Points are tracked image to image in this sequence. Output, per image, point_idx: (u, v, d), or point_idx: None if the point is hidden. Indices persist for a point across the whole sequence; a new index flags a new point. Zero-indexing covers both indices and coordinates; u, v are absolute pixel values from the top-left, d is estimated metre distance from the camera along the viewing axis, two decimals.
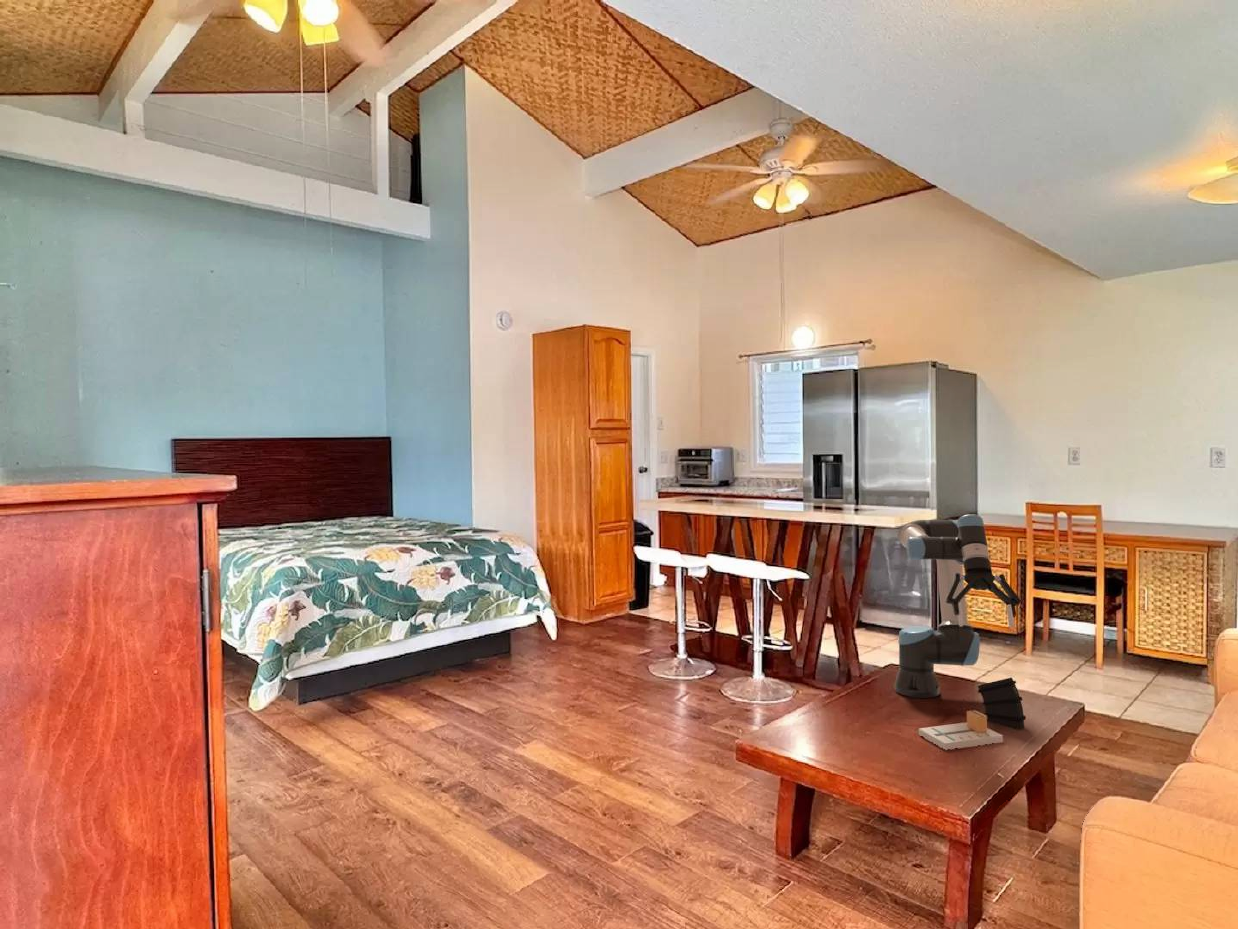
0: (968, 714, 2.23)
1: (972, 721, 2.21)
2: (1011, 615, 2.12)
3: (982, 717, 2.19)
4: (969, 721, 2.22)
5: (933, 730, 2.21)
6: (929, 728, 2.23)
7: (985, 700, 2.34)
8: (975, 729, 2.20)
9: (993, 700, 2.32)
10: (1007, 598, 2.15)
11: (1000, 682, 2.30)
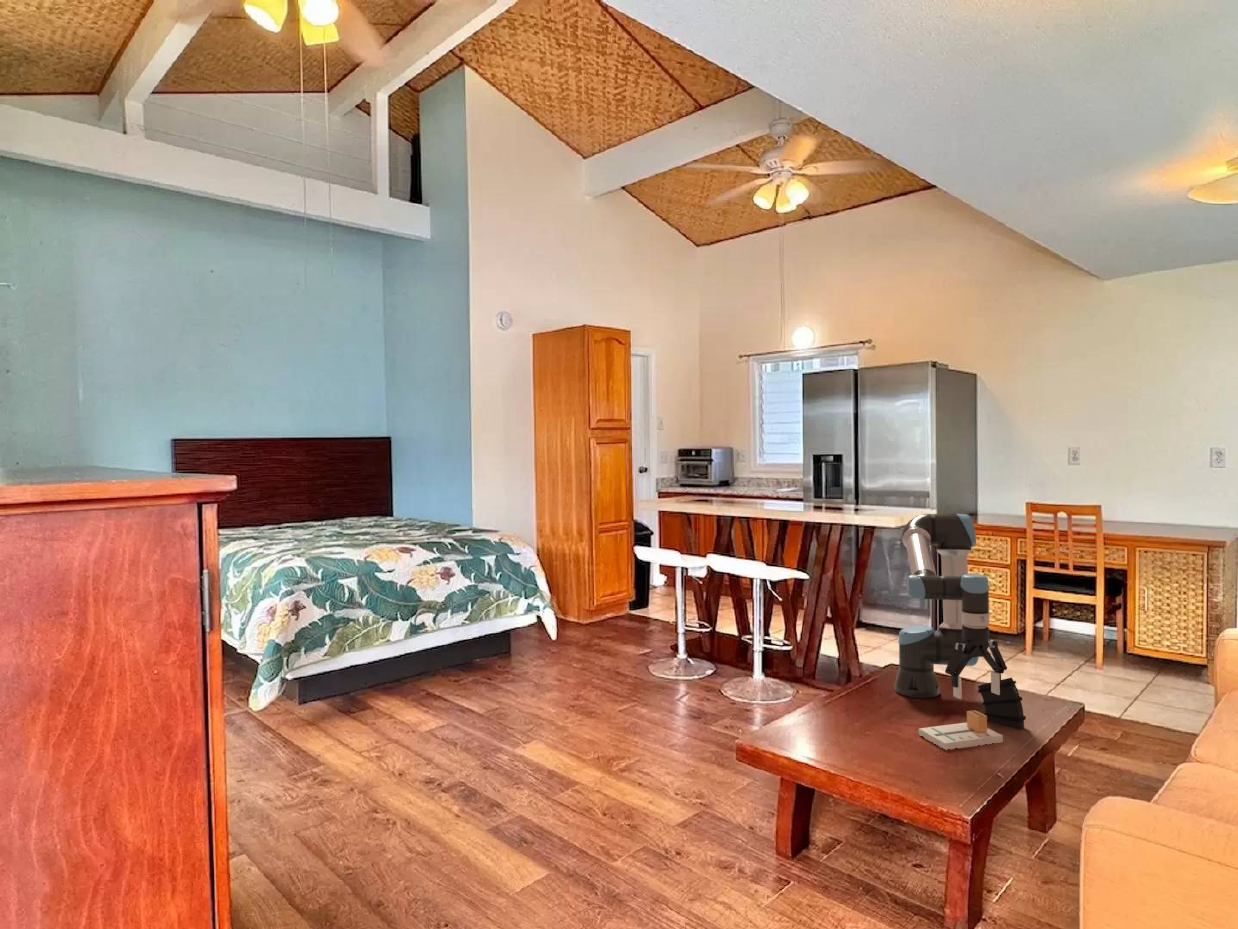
0: (968, 714, 2.23)
1: (972, 721, 2.21)
2: (998, 684, 2.21)
3: (982, 717, 2.19)
4: (969, 721, 2.22)
5: (933, 730, 2.21)
6: (929, 728, 2.23)
7: (985, 700, 2.34)
8: (975, 729, 2.20)
9: (993, 700, 2.32)
10: (997, 667, 2.21)
11: None
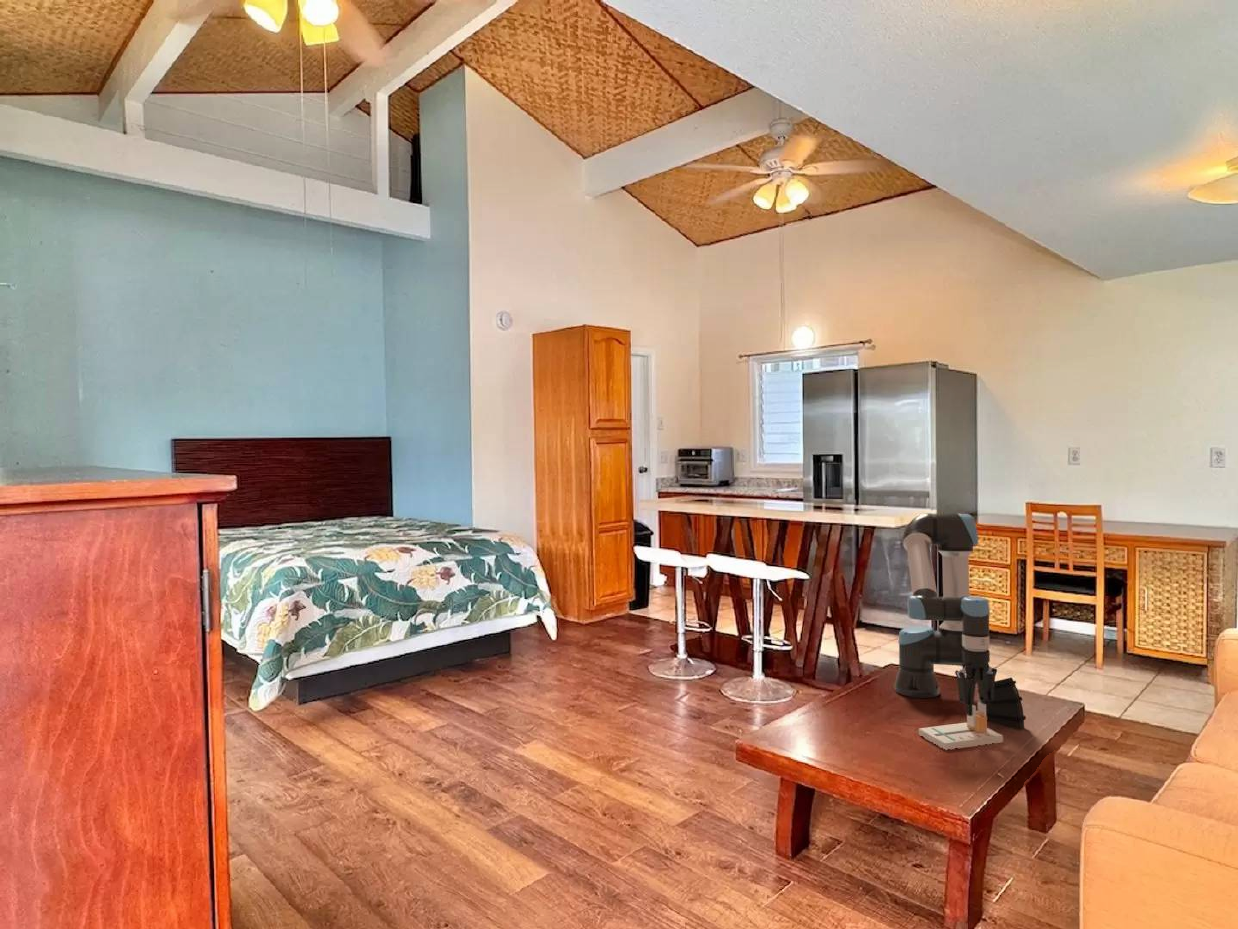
0: None
1: None
2: None
3: (982, 717, 2.19)
4: None
5: (933, 730, 2.21)
6: (929, 728, 2.23)
7: None
8: (975, 729, 2.20)
9: (993, 700, 2.32)
10: (986, 696, 2.21)
11: (1000, 682, 2.30)
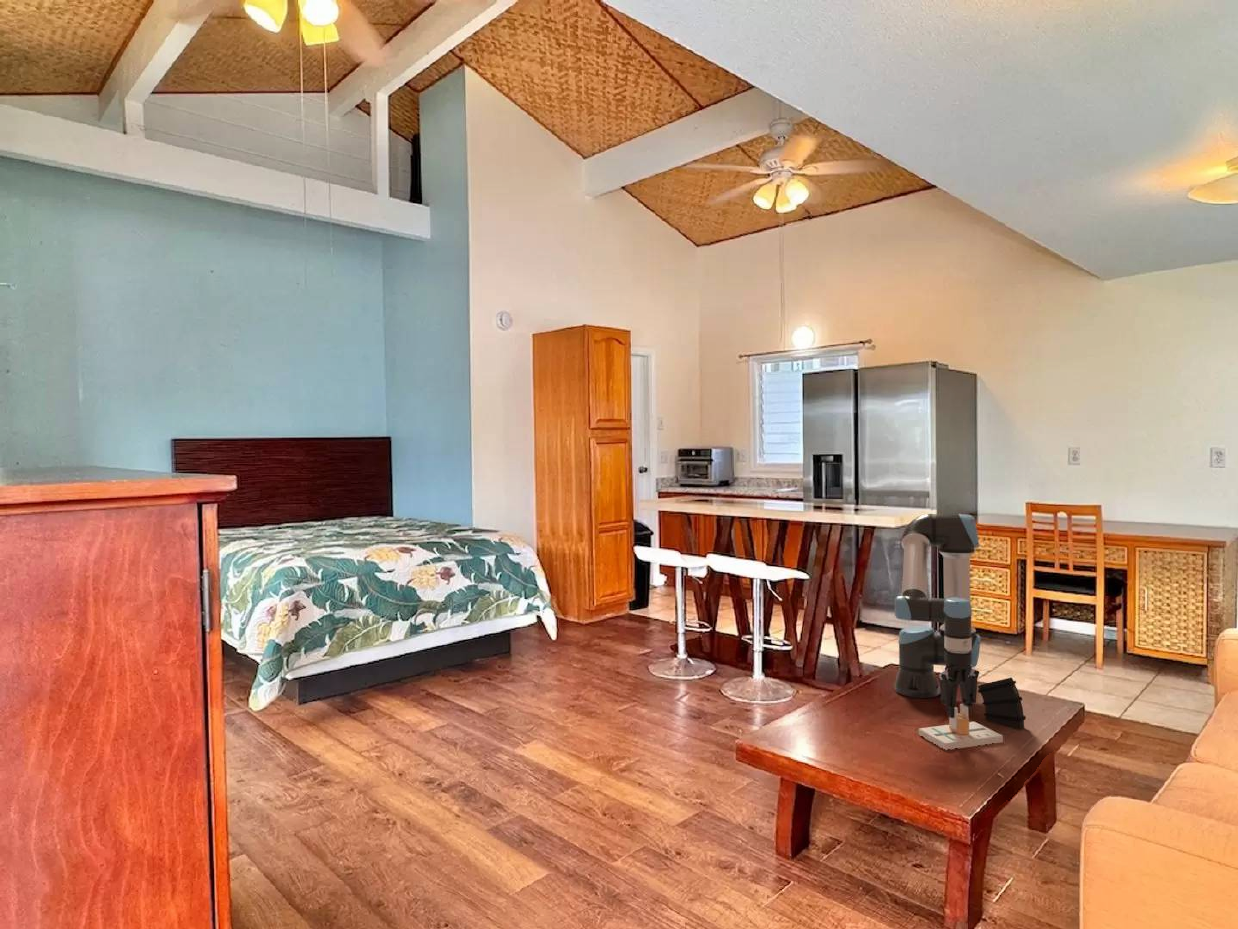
0: None
1: None
2: None
3: (964, 719, 2.17)
4: None
5: (933, 730, 2.21)
6: (929, 728, 2.23)
7: (985, 700, 2.34)
8: (957, 731, 2.18)
9: (993, 700, 2.32)
10: (968, 698, 2.19)
11: (1000, 682, 2.30)
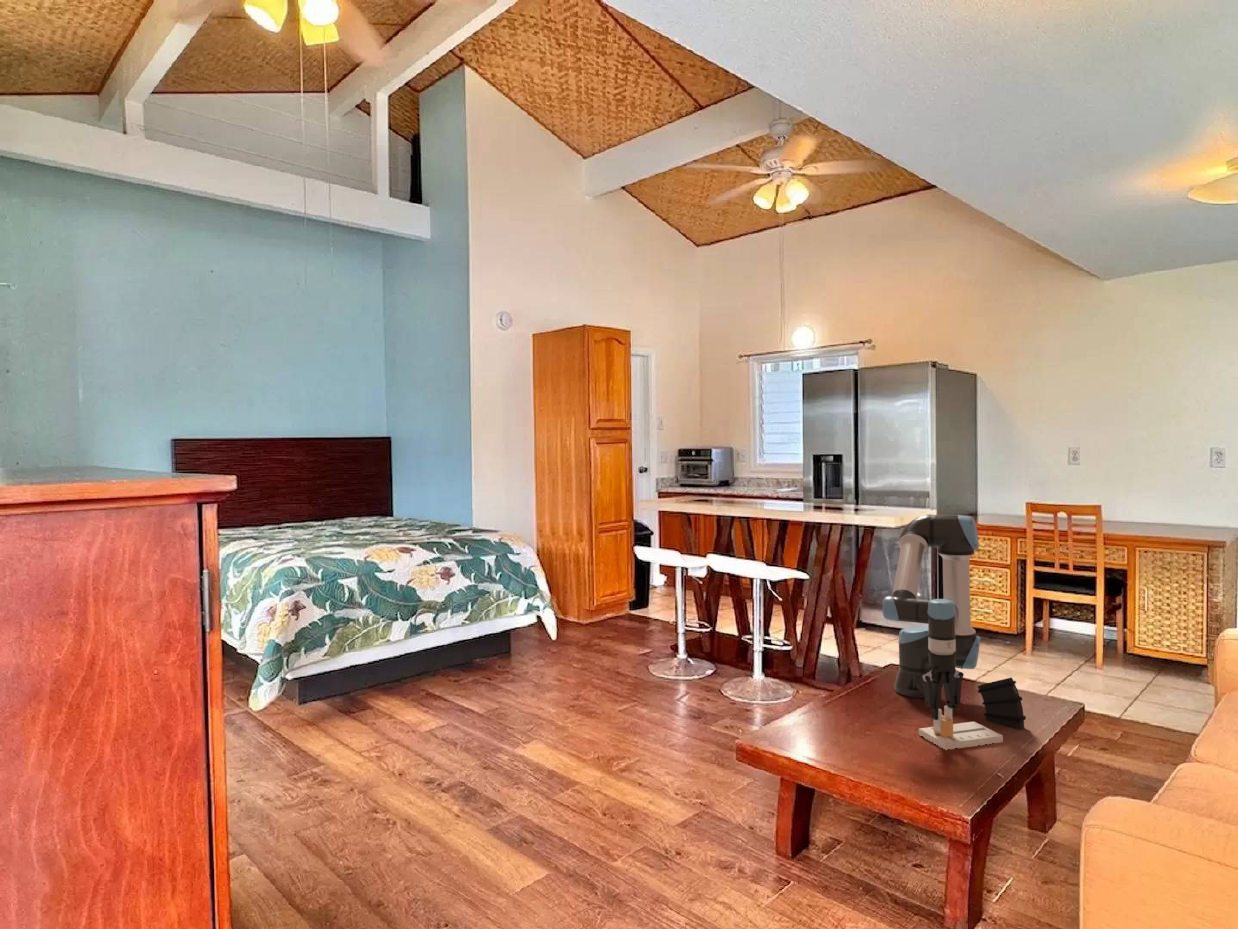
0: None
1: None
2: None
3: (948, 721, 2.16)
4: None
5: (933, 730, 2.21)
6: (929, 728, 2.23)
7: (985, 700, 2.34)
8: (941, 733, 2.17)
9: (993, 700, 2.32)
10: (952, 700, 2.18)
11: (1000, 682, 2.30)
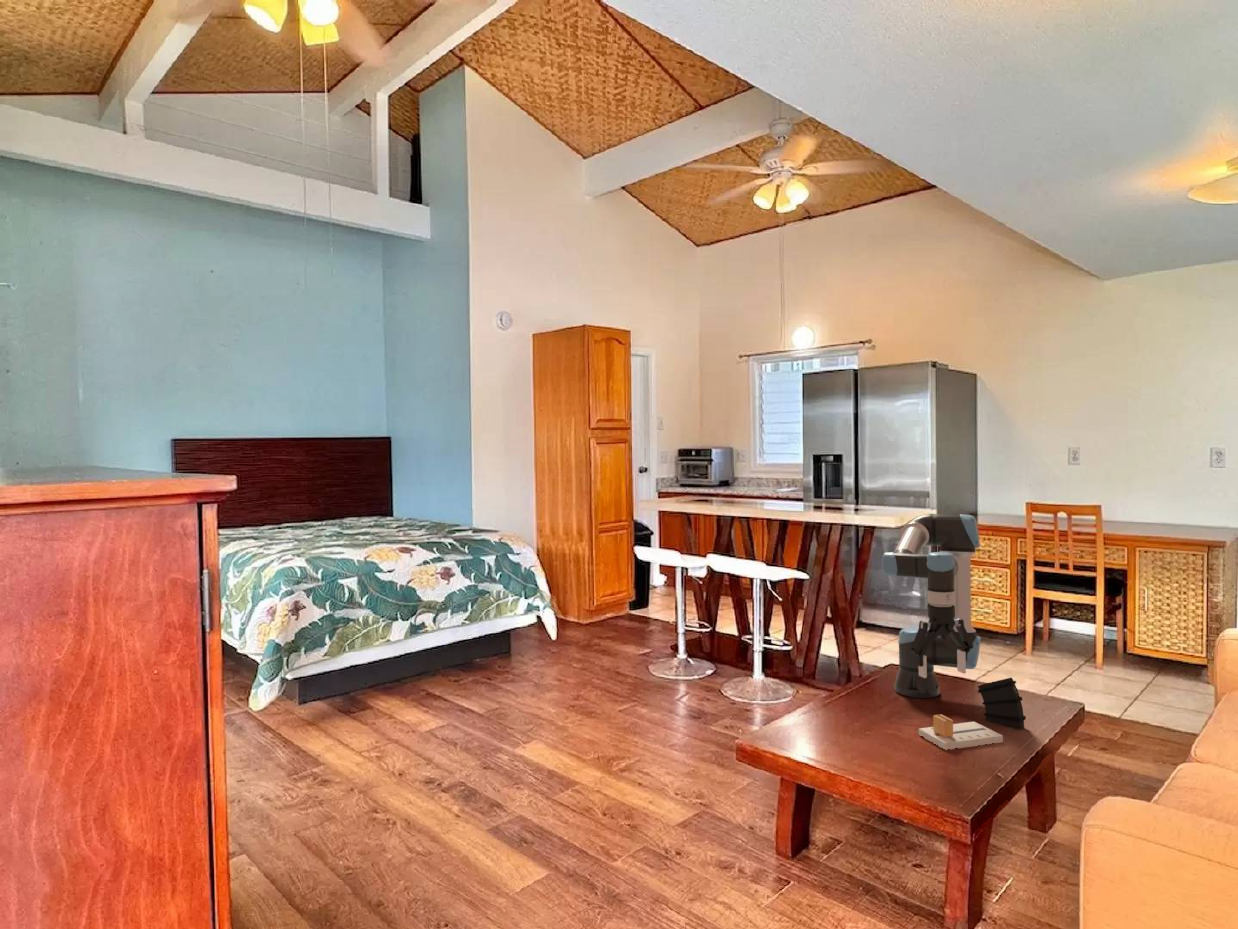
0: (934, 718, 2.20)
1: (938, 726, 2.18)
2: (964, 663, 2.19)
3: (948, 721, 2.16)
4: (935, 725, 2.19)
5: None
6: (929, 728, 2.23)
7: (985, 700, 2.34)
8: (941, 733, 2.17)
9: (993, 700, 2.32)
10: (963, 645, 2.19)
11: (1000, 682, 2.30)
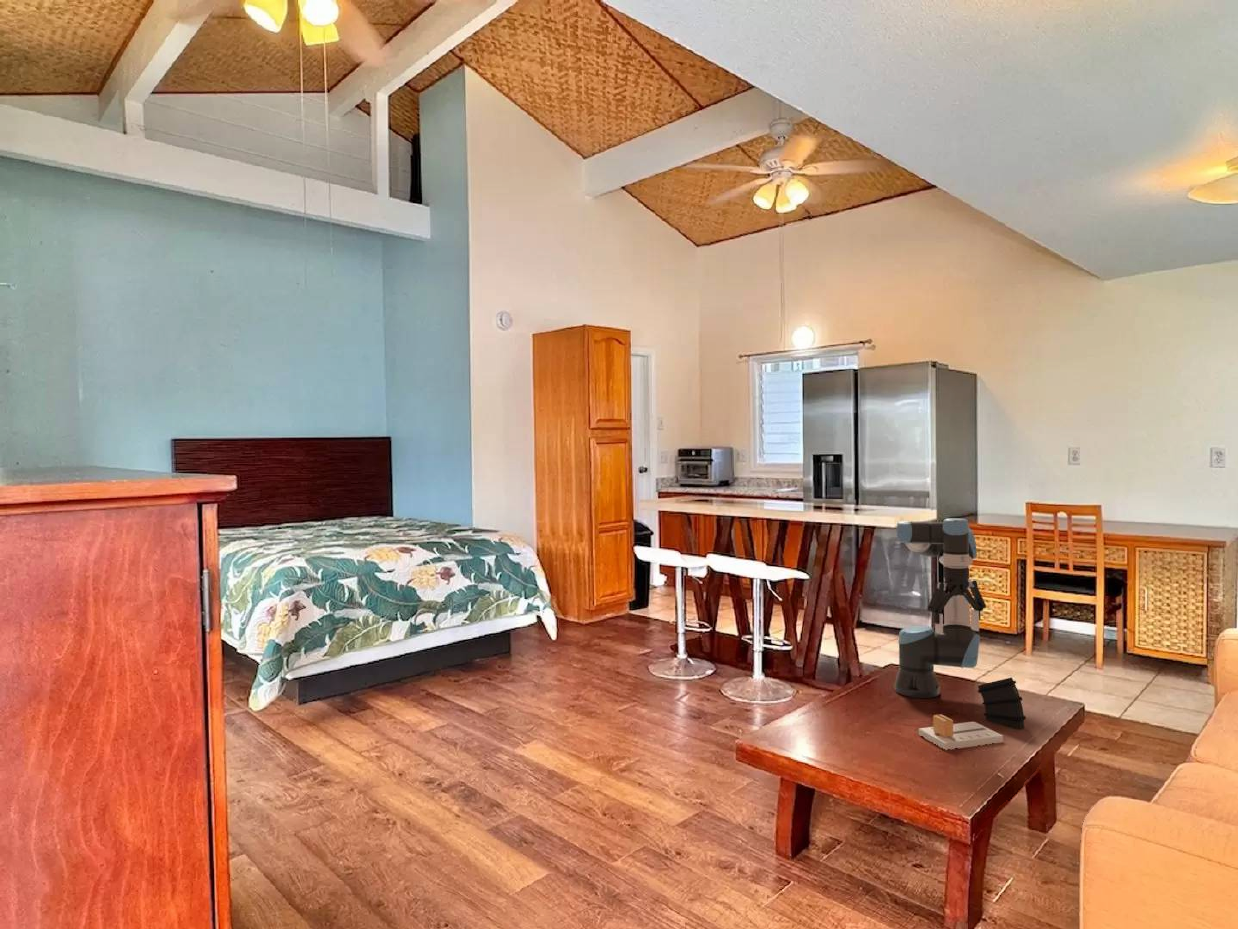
0: (934, 718, 2.20)
1: (938, 726, 2.18)
2: (978, 621, 2.35)
3: (948, 721, 2.16)
4: (935, 725, 2.19)
5: None
6: (929, 728, 2.23)
7: (985, 700, 2.34)
8: (941, 733, 2.17)
9: (993, 700, 2.32)
10: (976, 605, 2.35)
11: (1000, 682, 2.30)
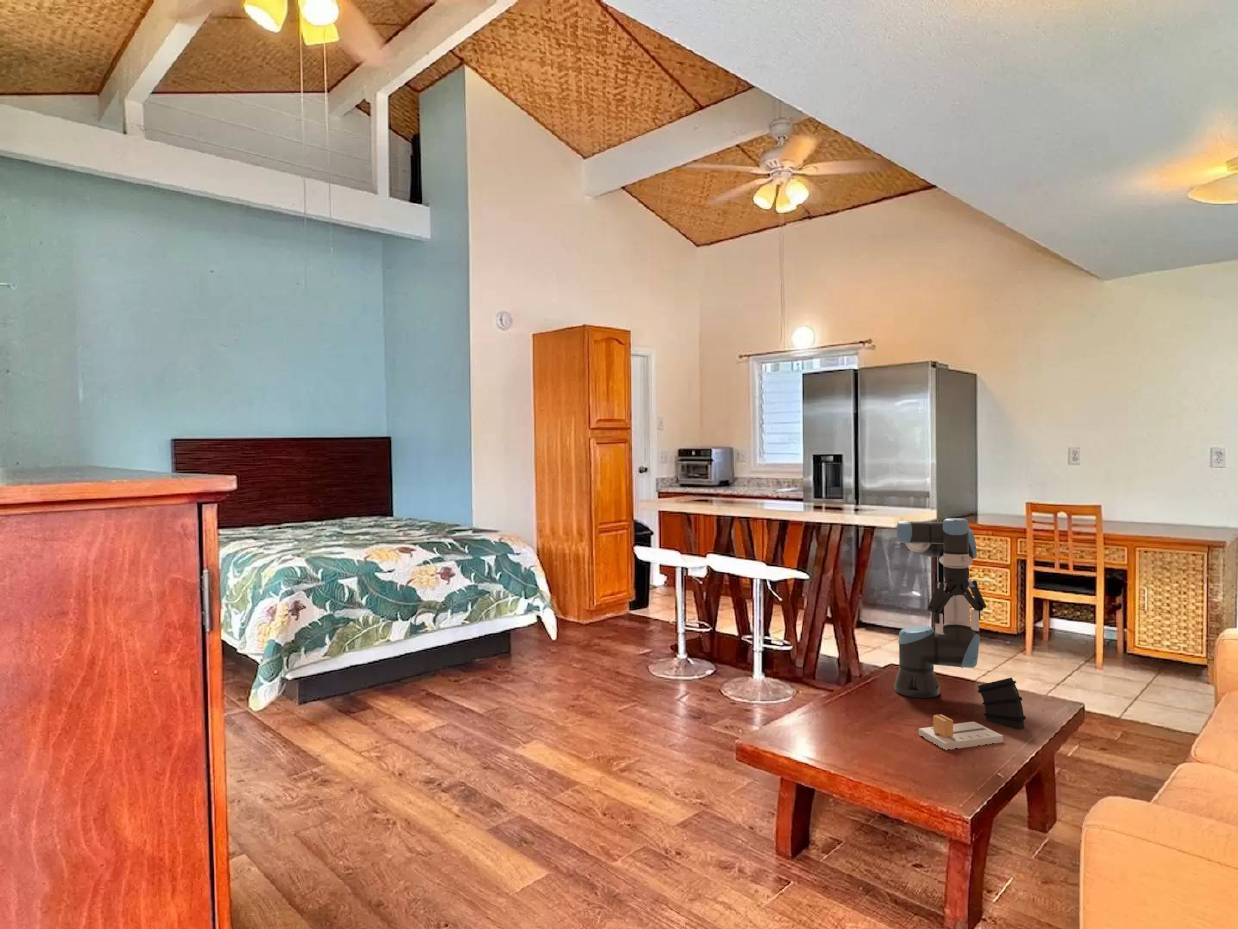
0: (934, 718, 2.20)
1: (938, 726, 2.18)
2: (978, 621, 2.35)
3: (948, 721, 2.16)
4: (935, 725, 2.19)
5: None
6: (929, 728, 2.23)
7: (985, 700, 2.34)
8: (941, 733, 2.17)
9: (993, 700, 2.32)
10: (976, 605, 2.35)
11: (1000, 682, 2.30)
